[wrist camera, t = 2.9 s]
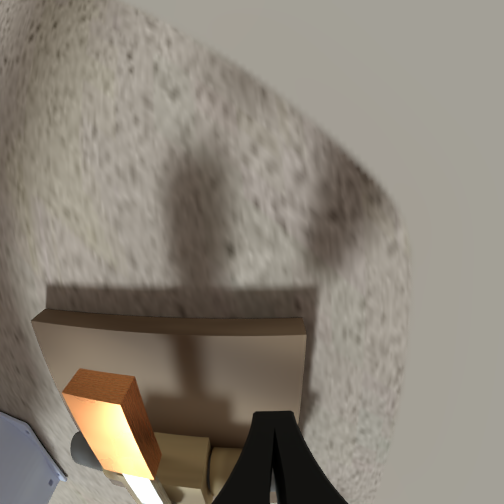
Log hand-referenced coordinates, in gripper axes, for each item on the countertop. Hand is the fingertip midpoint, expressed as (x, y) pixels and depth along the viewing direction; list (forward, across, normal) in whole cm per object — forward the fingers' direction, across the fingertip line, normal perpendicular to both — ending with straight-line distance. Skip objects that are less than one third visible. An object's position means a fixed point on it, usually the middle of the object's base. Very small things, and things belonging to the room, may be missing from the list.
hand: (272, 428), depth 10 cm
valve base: (+5, +6, +7) cm, 10 cm away
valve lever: (0, +6, +3) cm, 6 cm away
